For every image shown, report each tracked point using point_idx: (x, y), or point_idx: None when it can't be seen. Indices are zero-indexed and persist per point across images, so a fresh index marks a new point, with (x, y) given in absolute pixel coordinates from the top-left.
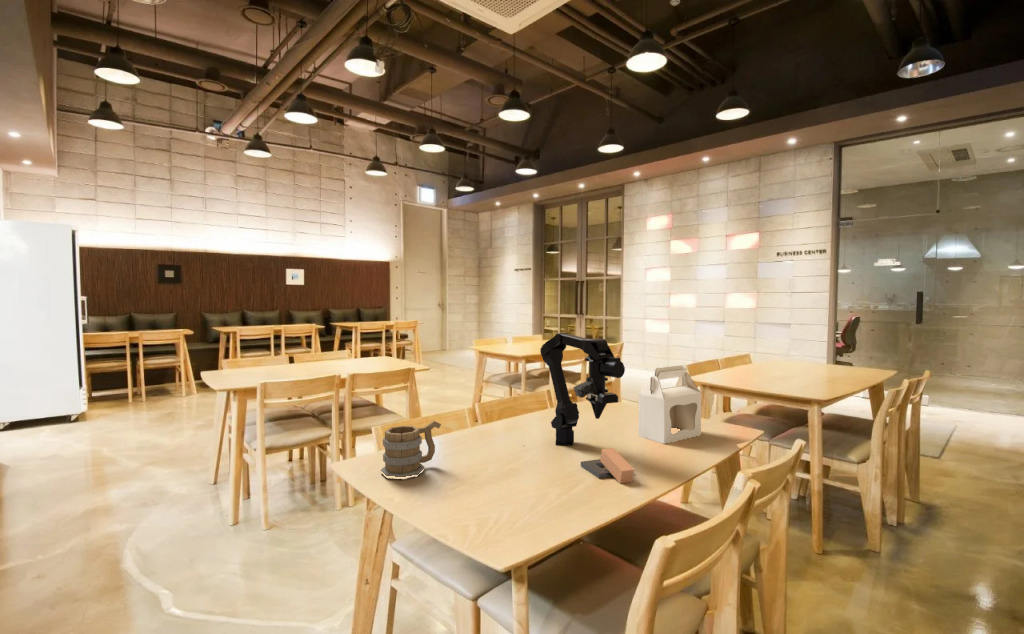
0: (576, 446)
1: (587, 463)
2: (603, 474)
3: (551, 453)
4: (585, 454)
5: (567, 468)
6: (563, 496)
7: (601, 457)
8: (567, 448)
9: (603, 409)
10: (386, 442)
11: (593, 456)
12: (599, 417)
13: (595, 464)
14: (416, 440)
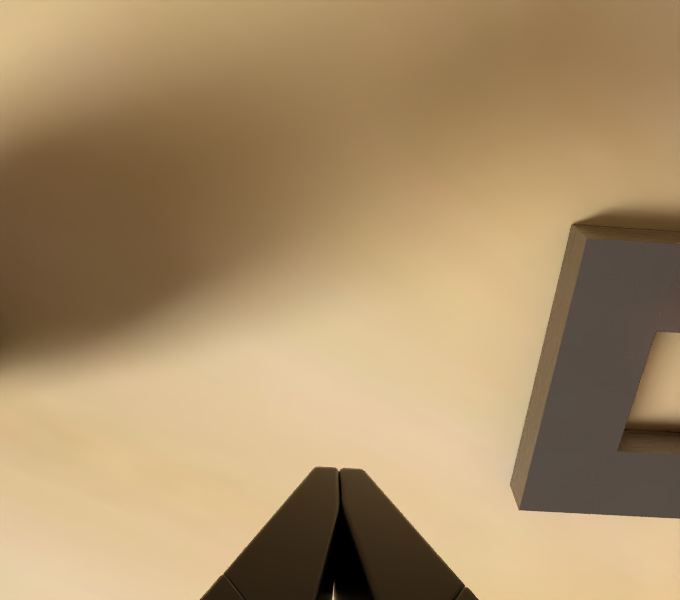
0: (25, 275)
1: (581, 490)
2: None
3: (157, 525)
4: (280, 322)
5: (496, 565)
6: None
7: None
8: (65, 373)
9: (469, 594)
10: None
11: (360, 290)
12: (371, 483)
13: (637, 454)
14: None
